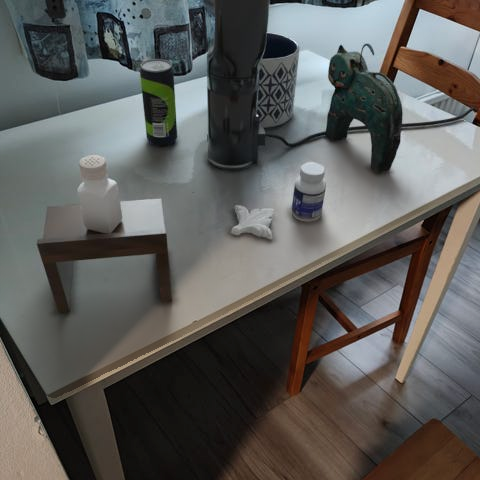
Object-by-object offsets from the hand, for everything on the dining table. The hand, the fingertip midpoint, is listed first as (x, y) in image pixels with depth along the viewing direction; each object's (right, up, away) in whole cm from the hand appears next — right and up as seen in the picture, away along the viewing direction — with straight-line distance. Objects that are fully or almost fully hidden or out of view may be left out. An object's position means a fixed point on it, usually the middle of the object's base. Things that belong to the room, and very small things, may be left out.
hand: (59, 7), depth 71 cm
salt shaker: (+6, -30, 0) cm, 31 cm away
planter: (+28, +4, +46) cm, 55 cm away
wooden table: (+6, -37, +7) cm, 38 cm away
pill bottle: (+36, -24, +20) cm, 48 cm away
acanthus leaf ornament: (+27, -27, +18) cm, 42 cm away
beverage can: (+9, -6, +37) cm, 38 cm away
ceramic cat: (+49, -8, +36) cm, 61 cm away
